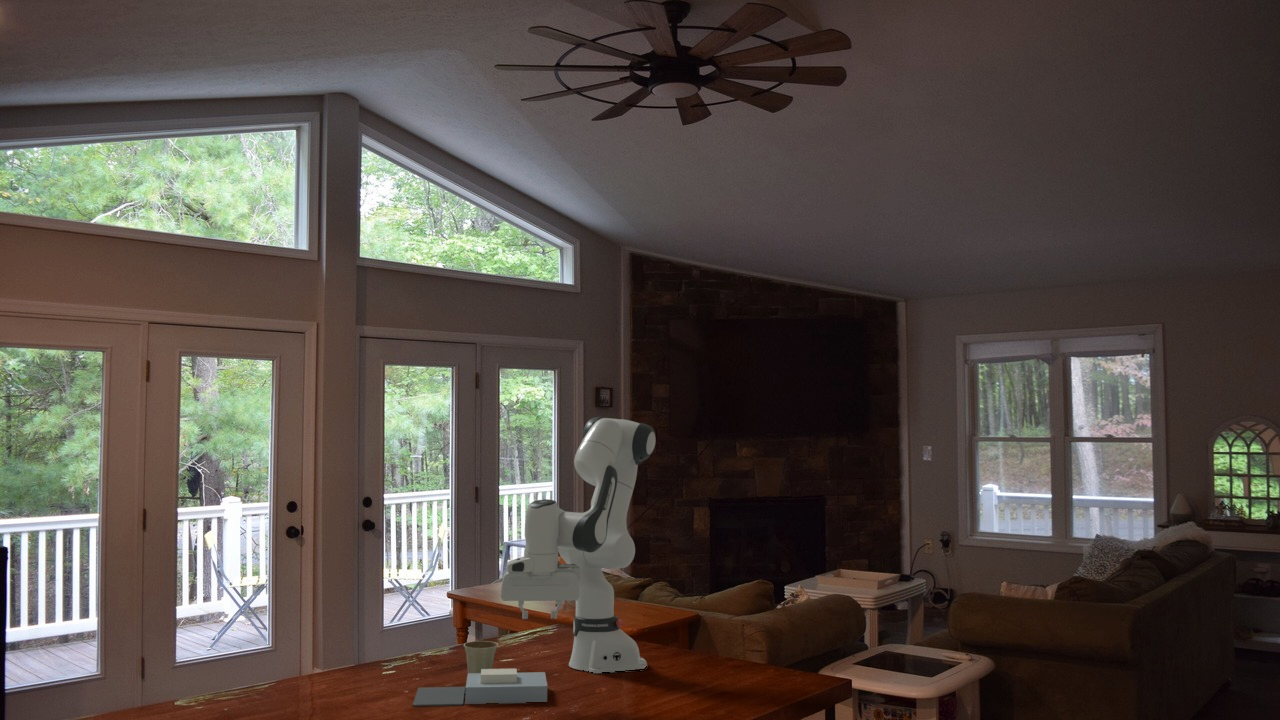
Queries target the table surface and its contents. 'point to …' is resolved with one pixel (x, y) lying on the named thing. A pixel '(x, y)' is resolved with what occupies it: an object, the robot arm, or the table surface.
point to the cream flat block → (498, 675)
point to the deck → (507, 689)
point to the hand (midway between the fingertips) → (539, 618)
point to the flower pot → (480, 655)
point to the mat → (439, 696)
